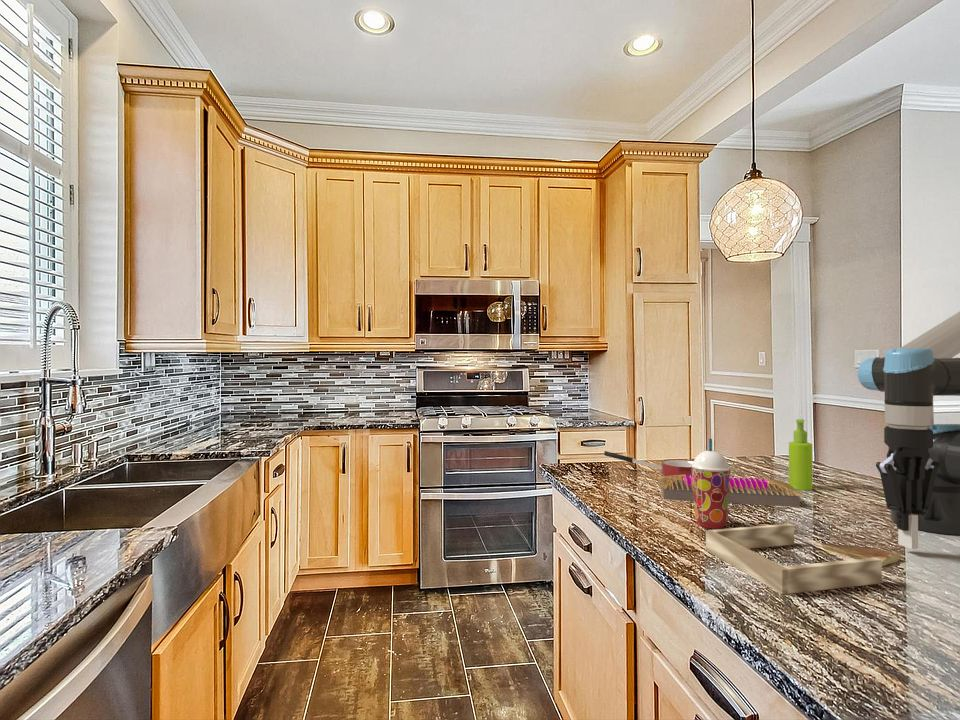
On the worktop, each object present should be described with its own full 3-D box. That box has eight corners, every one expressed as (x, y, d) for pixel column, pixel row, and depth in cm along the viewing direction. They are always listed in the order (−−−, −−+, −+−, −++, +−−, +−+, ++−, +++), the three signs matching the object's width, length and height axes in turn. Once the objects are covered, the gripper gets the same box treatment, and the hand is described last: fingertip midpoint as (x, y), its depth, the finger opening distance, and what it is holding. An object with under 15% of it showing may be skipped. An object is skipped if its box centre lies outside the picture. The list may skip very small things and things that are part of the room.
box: (789, 542, 111) (789, 523, 111) (881, 583, 91) (881, 559, 91) (705, 550, 107) (705, 530, 107) (782, 594, 87) (782, 570, 87)
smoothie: (700, 517, 128) (700, 435, 128) (736, 525, 123) (736, 438, 122) (685, 525, 123) (684, 439, 123) (722, 533, 117) (721, 442, 117)
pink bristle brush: (787, 495, 149) (787, 473, 149) (804, 509, 135) (804, 485, 135) (657, 488, 159) (656, 468, 159) (660, 501, 145) (660, 479, 145)
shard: (820, 550, 107) (820, 541, 107) (843, 544, 111) (843, 536, 111) (880, 569, 98) (880, 560, 98) (903, 562, 101) (903, 553, 101)
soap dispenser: (812, 486, 158) (812, 419, 158) (812, 491, 152) (811, 421, 152) (789, 483, 161) (789, 418, 161) (788, 488, 155) (788, 420, 155)
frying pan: (600, 474, 176) (600, 455, 176) (606, 466, 188) (606, 449, 188) (704, 482, 164) (704, 461, 164) (704, 473, 176) (704, 454, 176)
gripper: (916, 423, 109) (916, 537, 109) (863, 425, 107) (863, 542, 107) (955, 428, 102) (955, 550, 102) (899, 430, 99) (899, 555, 99)
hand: (908, 546), depth 104 cm, fingers closed
